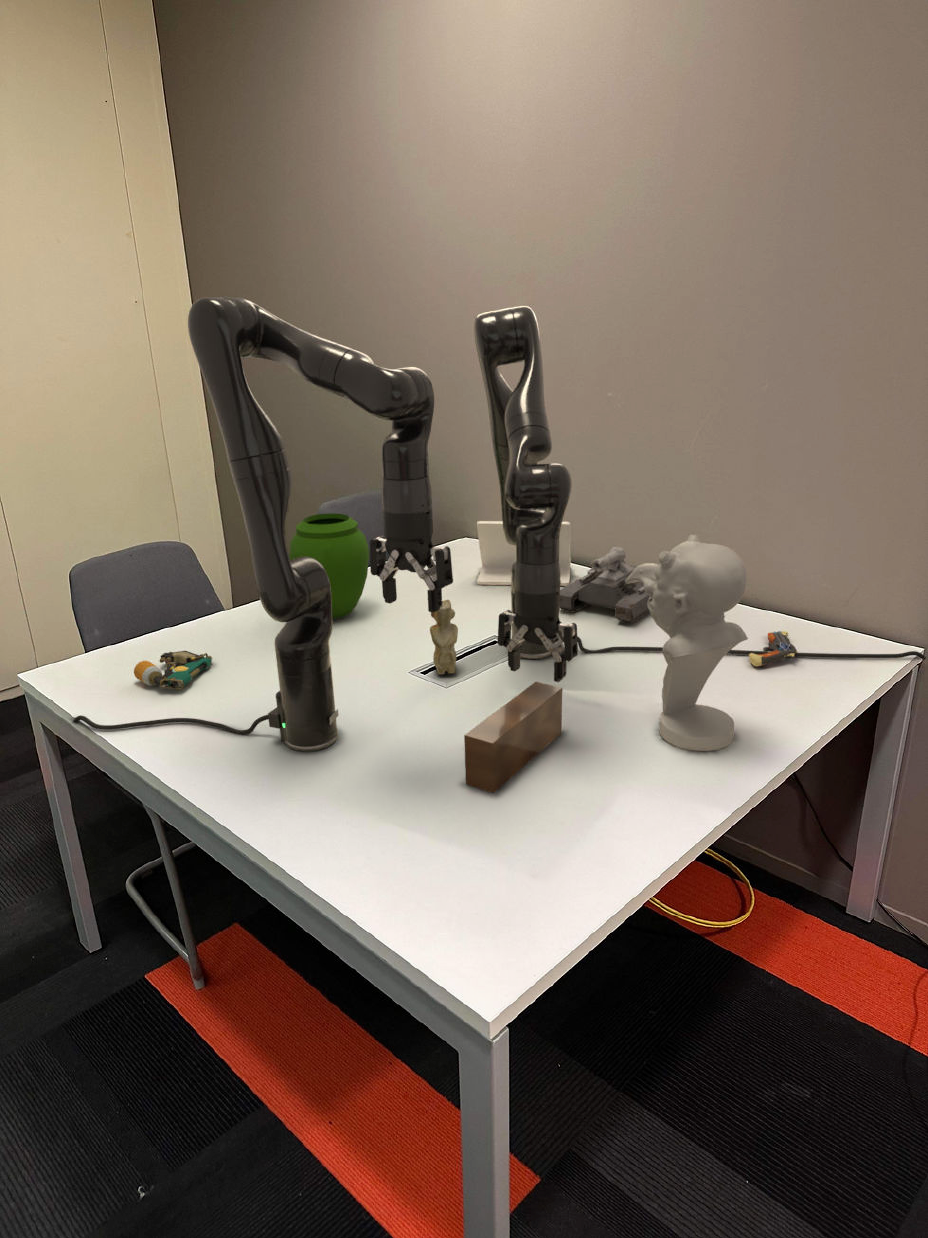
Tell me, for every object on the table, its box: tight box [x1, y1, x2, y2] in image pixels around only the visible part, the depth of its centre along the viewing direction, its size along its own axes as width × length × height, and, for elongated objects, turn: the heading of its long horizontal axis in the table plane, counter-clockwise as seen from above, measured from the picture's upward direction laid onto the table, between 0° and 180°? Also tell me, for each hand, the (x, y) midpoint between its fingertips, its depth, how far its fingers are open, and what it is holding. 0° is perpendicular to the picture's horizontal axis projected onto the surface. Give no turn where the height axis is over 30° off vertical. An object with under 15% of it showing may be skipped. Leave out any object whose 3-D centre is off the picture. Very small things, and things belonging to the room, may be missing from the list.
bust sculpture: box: [625, 534, 749, 752], centre depth 149 cm, size 16×24×35 cm
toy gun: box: [748, 630, 799, 667], centre depth 183 cm, size 3×19×10 cm
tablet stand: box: [476, 520, 572, 587], centre depth 236 cm, size 18×25×17 cm
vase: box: [288, 512, 370, 620], centre depth 209 cm, size 20×20×24 cm
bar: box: [463, 681, 563, 794], centre depth 144 cm, size 23×5×9 cm, turn 146°
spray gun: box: [133, 650, 213, 690], centre depth 180 cm, size 4×17×15 cm
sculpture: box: [429, 599, 459, 675], centre depth 177 cm, size 6×7×15 cm
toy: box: [560, 546, 650, 624], centre depth 212 cm, size 25×20×15 cm
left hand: (412, 606), depth 135 cm, fingers open, 8 cm apart
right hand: (536, 675), depth 147 cm, fingers open, 8 cm apart
